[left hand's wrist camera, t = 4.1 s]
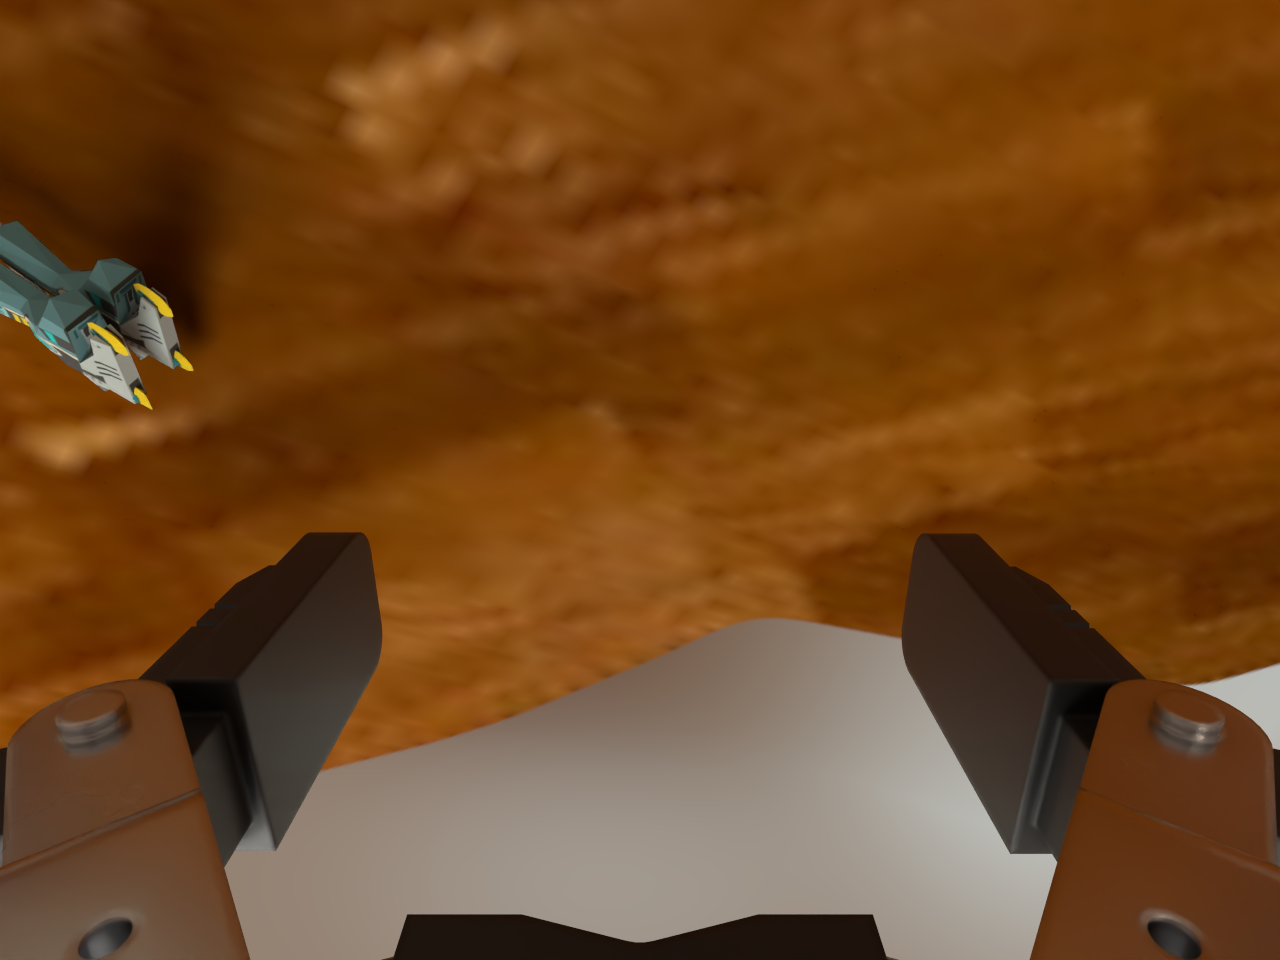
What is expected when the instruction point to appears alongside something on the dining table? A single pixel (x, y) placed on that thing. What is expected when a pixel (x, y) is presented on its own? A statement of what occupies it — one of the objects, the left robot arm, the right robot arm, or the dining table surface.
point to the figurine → (88, 313)
